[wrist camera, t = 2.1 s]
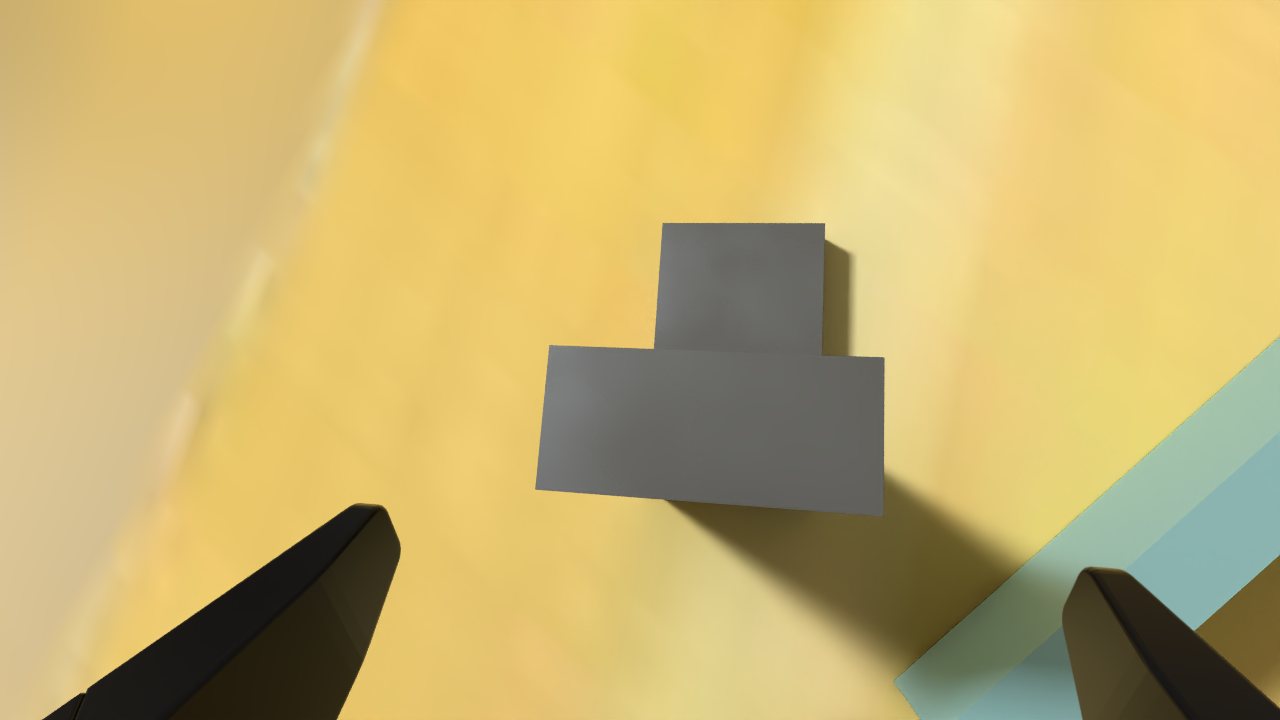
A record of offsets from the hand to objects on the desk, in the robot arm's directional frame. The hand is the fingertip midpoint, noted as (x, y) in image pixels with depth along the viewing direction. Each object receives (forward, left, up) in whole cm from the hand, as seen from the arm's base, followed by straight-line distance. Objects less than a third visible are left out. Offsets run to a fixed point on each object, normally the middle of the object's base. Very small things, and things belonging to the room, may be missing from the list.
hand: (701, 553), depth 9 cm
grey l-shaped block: (+4, -1, -10) cm, 11 cm away
